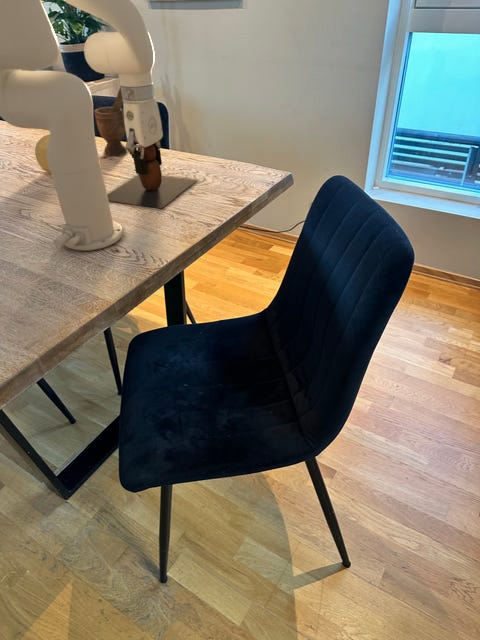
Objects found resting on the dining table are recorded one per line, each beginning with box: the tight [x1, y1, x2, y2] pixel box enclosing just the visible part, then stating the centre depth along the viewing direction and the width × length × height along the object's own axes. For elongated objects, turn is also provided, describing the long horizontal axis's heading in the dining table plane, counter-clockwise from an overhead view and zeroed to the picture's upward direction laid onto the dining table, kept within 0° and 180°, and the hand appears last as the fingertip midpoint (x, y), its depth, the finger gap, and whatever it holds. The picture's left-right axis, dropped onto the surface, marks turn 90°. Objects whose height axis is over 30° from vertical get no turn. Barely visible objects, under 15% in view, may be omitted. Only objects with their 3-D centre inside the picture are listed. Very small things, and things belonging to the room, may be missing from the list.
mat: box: [107, 174, 197, 210], centre depth 114 cm, size 20×18×1 cm
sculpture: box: [34, 133, 51, 175], centre depth 124 cm, size 11×12×11 cm
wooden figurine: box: [137, 145, 163, 190], centre depth 110 cm, size 7×6×15 cm
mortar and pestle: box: [93, 87, 128, 157], centre depth 135 cm, size 12×9×20 cm
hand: (149, 168), depth 112 cm, fingers closed on wooden figurine, 6 cm apart
